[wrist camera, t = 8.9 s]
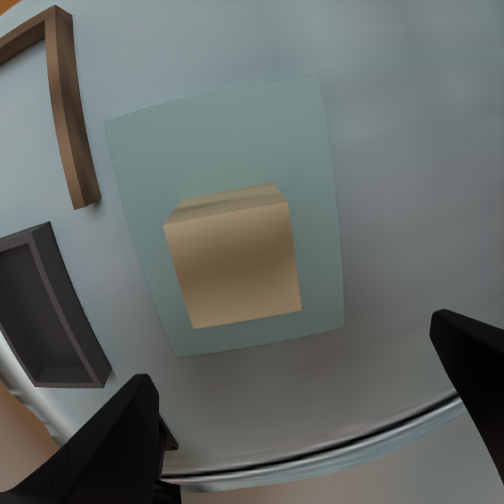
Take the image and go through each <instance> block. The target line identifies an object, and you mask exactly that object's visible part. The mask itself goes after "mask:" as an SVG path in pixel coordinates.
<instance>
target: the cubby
mask: <svg viewBox="0 0 504 504" xmlns="http://www.w3.org/2000/svg"><path fill="white" fill-rule="evenodd" d="M44 38H45V41H46V58H47V70H48V80H49V89H50V97H51V104H52V111H53V117H54V123H55V129H56V135H57V140H58V145H59V150H60V155H61V159H62V164H63V168H64V173H65V177H66V181H67V185H68V189H69V193H70V196H71V200H72V204H73V207H74V210H76V209H80V208H83V207H86V206H88V205H89V204H91V203H93V202H95V201H96V200H98V199H100V198H101V195H100V191H99V187H98V183H97V179H96V175H95V171H94V167H93V162H92V158H91V153H90V149H89V144H88V139H87V134H86V129H85V123H84V118H83V112H82V106H81V100H80V93H79V86H78V79H77V71H76V62H75V52H74V40H73V25H72V15H71V14H69V13H68V12H66V11H65V10H63V9H61V8H60V7H58V6H56V5H54V6H52V7H50V8H48V9H46V10H44V11H43V12H41V13H39V14H37V15H36V16H34V17H32V18H31V19H29V20H27V21H26V22H24V23H23V24H21V25H19V26H18V27H16V28H15V29H13V30H12V31H10V32H9V33H7V34H6V35H4V36H3V37H2V38H0V65H2V64H3V63H5V62H6V61H8V60H9V59H11V58H12V57H14V56H15V55H17V54H18V53H20V52H22V51H23V50H25V49H26V48H28V47H30V46H32V45H33V44H35V43H37V42H38V41H40V40H42V39H44Z"/></svg>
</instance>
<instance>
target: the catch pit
mask: <svg viewBox="0 0 504 504" xmlns="http://www.w3.org/2000/svg"><path fill="white" fill-rule="evenodd" d="M0 330H1V332H2V334H3V336H4V338H5V340H6V341H7V343H8V345H9V347H10V348H11V350H12V352H13V354H14V355H15V357H16V359H17V360H18V362H19V363H20V365H21V367H22V368H23V370H24V371H25V373H26V374H27V376H28V378H29V379H30V381H31V382H32V384H33V385H34V386H35V387H47V388H104V386H105V384H106V381H107V379H108V377H109V374H110V372H111V369H112V367H111V366H110V364H109V362H108V360H107V358H106V356H105V354H104V352H103V350H102V349H101V347H100V345H99V343H98V341H97V339H96V337H95V335H94V333H93V330H92V328H91V326H90V324H89V322H88V320H87V318H86V315H85V313H84V311H83V309H82V307H81V304H80V302H79V300H78V297H77V295H76V293H75V290H74V288H73V285H72V283H71V280H70V278H69V275H68V273H67V270H66V267H65V265H64V262H63V259H62V257H61V254H60V251H59V248H58V245H57V242H56V239H55V236H54V233H53V230H52V227H51V224H50V221H49V222H46V223H43V224H40V225H37V226H34V227H31V228H28V229H25V230H22V231H19V232H17V233H14V234H11V235H8V236H6V237H3V238H0Z"/></svg>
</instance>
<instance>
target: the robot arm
mask: <svg viewBox="0 0 504 504" xmlns="http://www.w3.org/2000/svg"><path fill="white" fill-rule="evenodd" d="M430 339H431V341H432V343H433V345H434V347H435V350H436V352H437V354H438V356H439V358H440V360H441V362H442V365H443V367H444V369H445V371H446V373H447V375H448V377H449V379H450V380H451V382H452V384H453V386H454V387H455V389H456V391H457V392H458V394H459V396H460V398H461V399H462V401H463V403H464V405H465V407H466V408H467V410H468V412H469V414H470V416H471V418H472V419H473V421H474V423H475V425H476V427H477V429H478V431H479V433H480V435H481V437H482V439H483V441H484V443H485V445H486V447H487V449H488V451H489V453H490V455H491V457H492V459H493V461H494V464H495V466H496V468H497V470H498V473H499V475H500V477H501V480H502V482H503V484H504V330H503V329H500V328H497V327H494V326H492V325H489V324H486V323H483V322H480V321H478V320H475V319H472V318H469V317H466V316H464V315H461V314H458V313H455V312H452V311H450V310H447V309H441V310H438V311H435V312H434V313H433V314H432V319H431V326H430ZM171 450H178V444H177V443H176V441H175V440H174V438H173V437H172V435H171V433H170V432H169V430H168V429H167V427H166V426H165V424H164V422H163V421H162V419H161V417H160V416H159V394H158V391H157V389H156V387H155V385H154V383H153V382H152V380H151V378H150V376H149V375H148V374H146V373H143V374H135V375H134V376H133V377H132V378H131V379H130V380H129V381H128V382H127V383H126V384H125V385H124V386H123V387H122V388H121V389H120V390H119V391H118V392H117V393H116V394H115V395H114V396H113V397H112V398H111V399H110V400H109V401H108V402H107V403H106V404H105V405H104V406H103V407H102V408H101V409H100V410H99V411H98V412H97V413H96V414H95V415H94V416H93V417H92V418H91V419H90V420H89V421H88V422H87V423H86V424H84V425H83V426H82V427H81V428H80V429H79V430H78V431H77V432H76V433H75V434H74V435H73V436H72V437H71V438H70V439H69V440H68V443H65V444H64V445H63V446H62V447H61V448H60V449H59V450H58V451H57V452H56V453H55V454H54V455H53V456H52V457H51V458H50V459H49V460H47V461H46V462H45V463H44V464H43V465H41V466H40V467H39V468H38V469H37V470H35V471H34V472H33V473H32V474H30V475H29V476H28V477H27V478H25V479H24V480H23V481H22V482H20V483H19V484H18V485H17V486H15V487H14V488H12V489H10V490H8V491H5V492H0V504H181V493H180V485H178V484H171V483H168V482H164V481H161V474H162V467H163V460H164V453H165V451H171Z"/></svg>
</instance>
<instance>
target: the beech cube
mask: <svg viewBox="0 0 504 504" xmlns="http://www.w3.org/2000/svg"><path fill="white" fill-rule="evenodd" d="M163 228H164V232H165V235H166V239H167V243H168V247H169V250H170V254H171V257H172V261H173V264H174V268H175V271H176V275H177V278H178V281H179V285H180V288H181V291H182V295H183V298H184V301H185V304H186V307H187V311H188V314H189V317H190V320H191V323H192V326H193V329H196V328H203V327H210V326H216V325H223V324H229V323H235V322H241V321H247V320H252V319H258V318H264V317H269V316H274V315H280V314H285V313H290V312H295V311H300V310H302V309H301V300H300V291H299V283H298V274H297V266H296V258H295V251H294V243H293V236H292V228H291V221H290V214H289V207H288V201H287V200H286V199H285V198H284V196H283V195H282V194H281V193H280V191H279V190H278V189H277V188H276V187H275V185H274V184H273V183H266V184H260V185H255V186H249V187H244V188H238V189H233V190H227V191H222V192H217V193H212V194H207V195H202V196H197V197H193V198H188V199H183V200H181V202H180V203H179V204H178V206H177V207H176V208H175V210H174V211H173V212H172V214H171V215H170V216H169V218H168V219H167V220H166V222H165V223H164V225H163Z"/></svg>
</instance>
